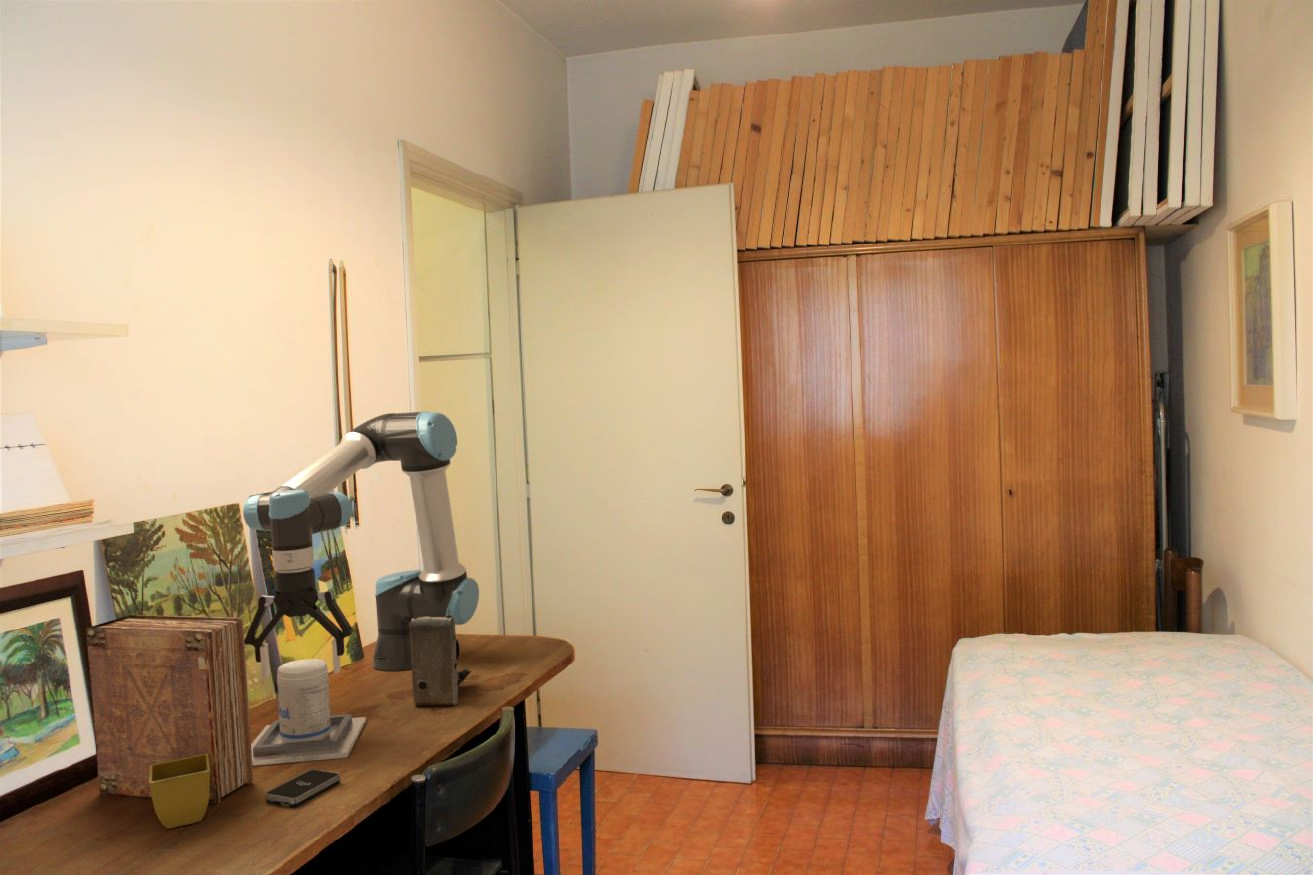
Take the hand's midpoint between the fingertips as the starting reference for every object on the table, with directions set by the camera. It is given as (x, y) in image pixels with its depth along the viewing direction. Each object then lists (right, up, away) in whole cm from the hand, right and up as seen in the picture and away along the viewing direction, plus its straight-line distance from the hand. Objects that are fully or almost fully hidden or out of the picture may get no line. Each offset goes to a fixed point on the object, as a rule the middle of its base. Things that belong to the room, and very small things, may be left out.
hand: (301, 674), depth 189 cm
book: (-15, -16, -20) cm, 29 cm away
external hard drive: (+9, -15, -24) cm, 29 cm away
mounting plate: (+1, -14, 0) cm, 14 cm away
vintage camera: (+22, -12, +26) cm, 37 cm away
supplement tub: (+1, -13, 0) cm, 13 cm away
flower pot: (-7, -16, -33) cm, 37 cm away
